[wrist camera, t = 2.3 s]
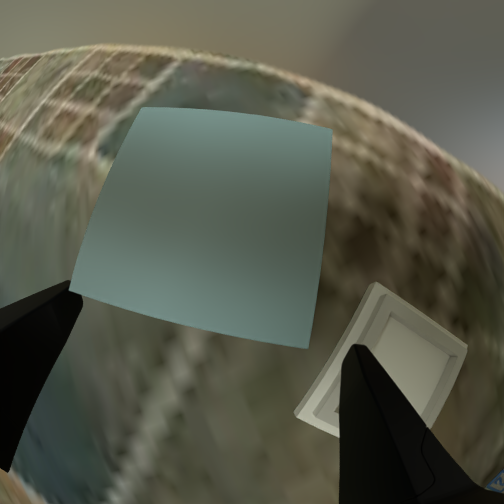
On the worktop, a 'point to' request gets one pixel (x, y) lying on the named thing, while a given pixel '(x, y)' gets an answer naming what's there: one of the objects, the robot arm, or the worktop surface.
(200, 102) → the worktop surface
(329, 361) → the base plate
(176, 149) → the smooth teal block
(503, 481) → the stack of blocks
